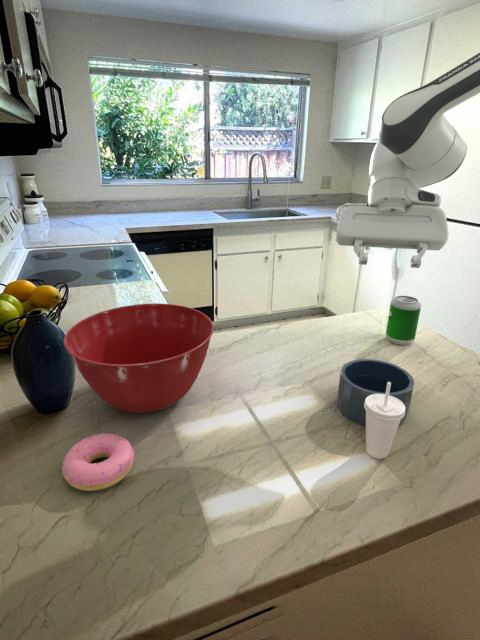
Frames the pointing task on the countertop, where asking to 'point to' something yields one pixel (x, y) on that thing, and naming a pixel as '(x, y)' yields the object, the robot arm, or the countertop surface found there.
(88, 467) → the doughnut
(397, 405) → the smoothie
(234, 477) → the countertop surface
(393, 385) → the pot
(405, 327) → the soda can
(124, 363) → the mixing bowl
